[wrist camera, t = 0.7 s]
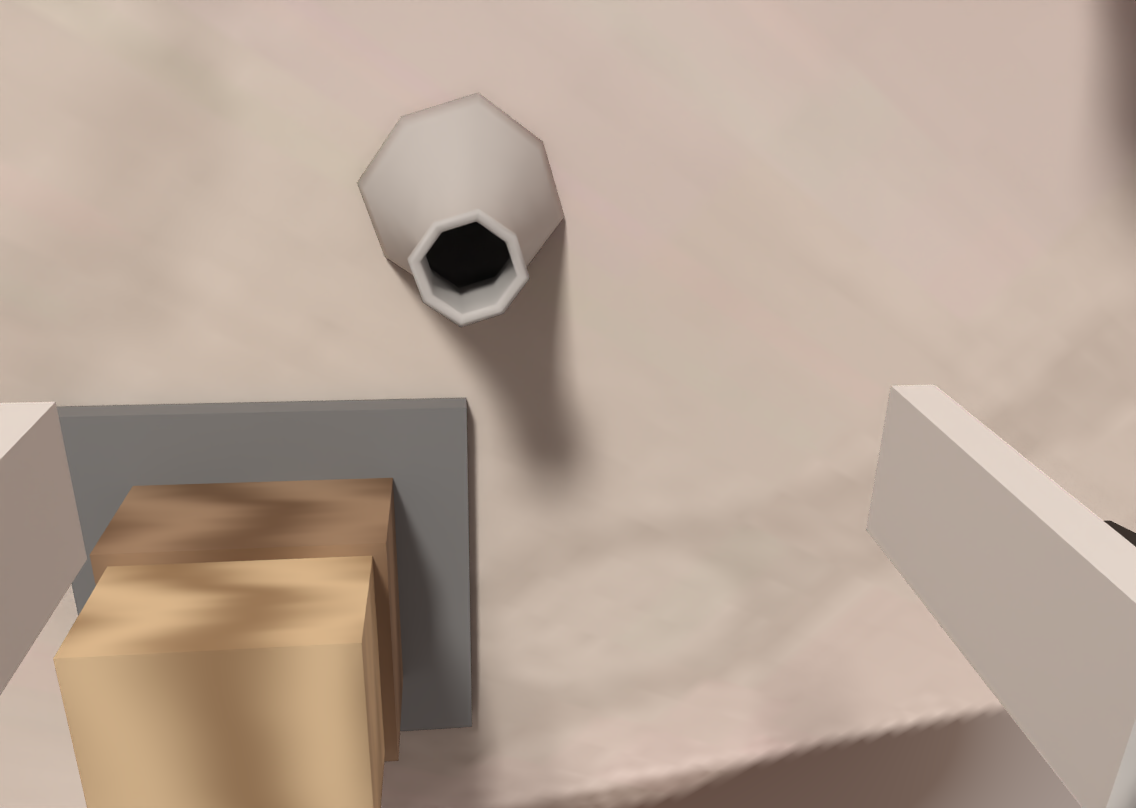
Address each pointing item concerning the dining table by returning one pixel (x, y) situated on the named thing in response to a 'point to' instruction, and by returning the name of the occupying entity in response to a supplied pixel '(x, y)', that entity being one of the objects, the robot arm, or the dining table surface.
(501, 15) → the dining table surface
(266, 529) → the walnut block
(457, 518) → the grey mat
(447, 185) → the flask
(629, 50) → the dining table surface
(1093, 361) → the dining table surface
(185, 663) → the oak block
